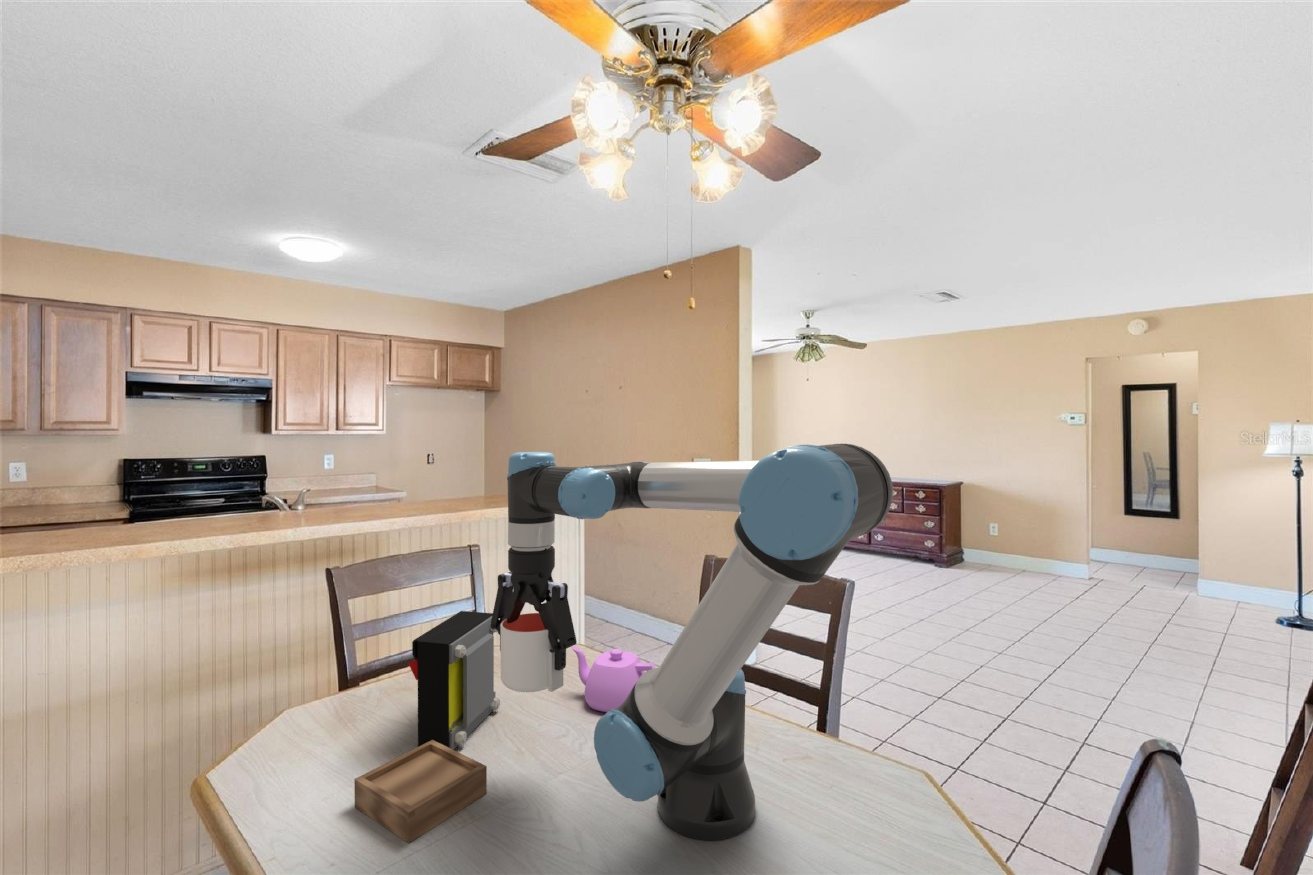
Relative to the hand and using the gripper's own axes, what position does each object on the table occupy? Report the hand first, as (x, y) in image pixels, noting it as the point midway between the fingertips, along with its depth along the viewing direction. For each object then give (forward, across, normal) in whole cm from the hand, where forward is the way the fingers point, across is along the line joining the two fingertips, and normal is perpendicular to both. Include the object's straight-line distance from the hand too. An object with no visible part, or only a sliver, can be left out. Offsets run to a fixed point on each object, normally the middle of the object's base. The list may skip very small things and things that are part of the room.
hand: (531, 680), depth 100 cm
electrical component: (+18, +25, -5) cm, 31 cm away
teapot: (+18, +7, -31) cm, 36 cm away
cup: (+1, 0, 0) cm, 1 cm away
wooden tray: (+17, +11, +13) cm, 24 cm away
